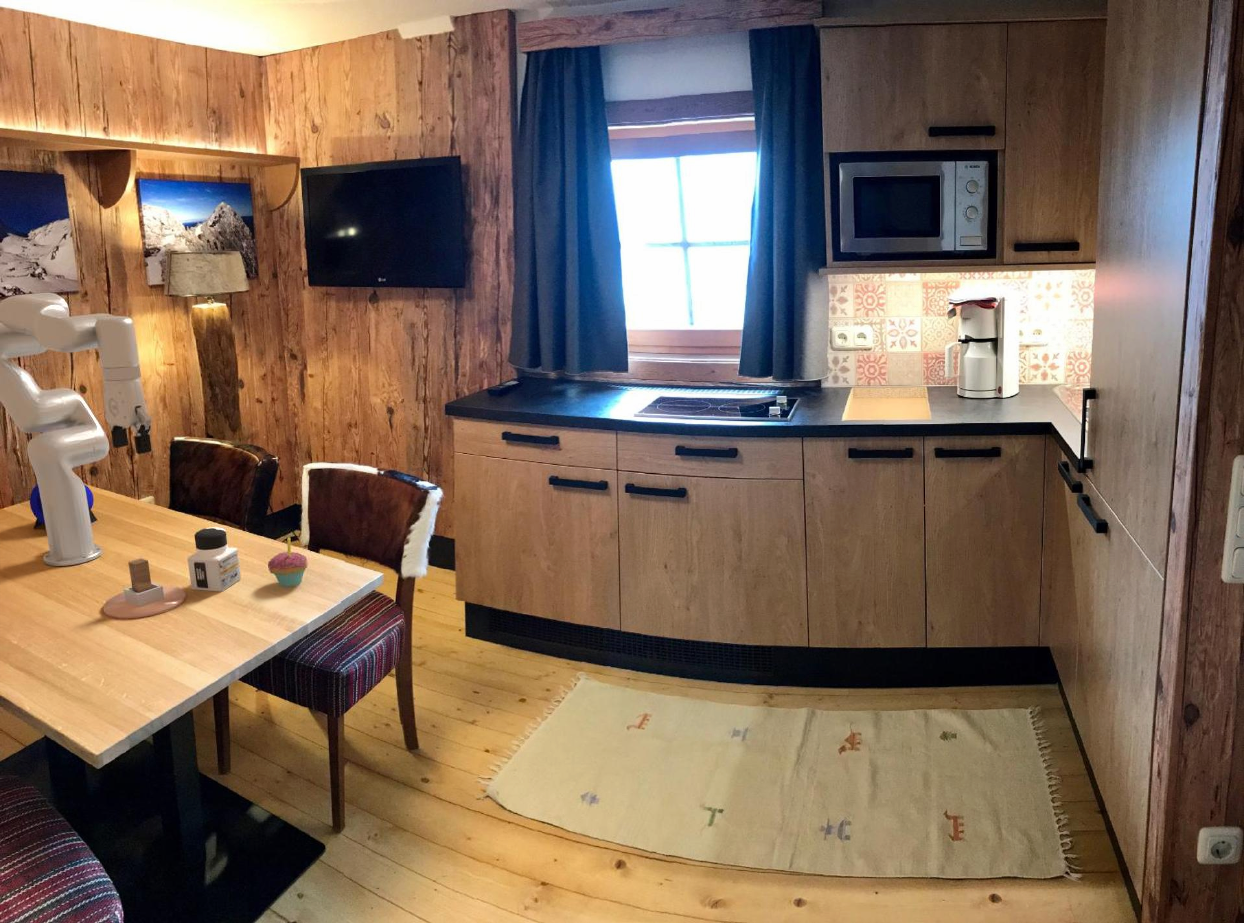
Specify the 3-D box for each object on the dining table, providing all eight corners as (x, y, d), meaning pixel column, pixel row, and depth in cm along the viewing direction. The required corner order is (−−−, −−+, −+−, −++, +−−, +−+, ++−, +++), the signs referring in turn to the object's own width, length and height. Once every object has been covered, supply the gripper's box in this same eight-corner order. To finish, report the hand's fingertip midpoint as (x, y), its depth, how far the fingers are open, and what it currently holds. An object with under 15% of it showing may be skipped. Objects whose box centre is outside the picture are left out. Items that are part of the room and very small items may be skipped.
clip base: (89, 606, 211) (86, 591, 210) (160, 583, 224) (158, 568, 223) (128, 624, 202) (126, 608, 201) (200, 599, 214) (198, 584, 213)
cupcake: (316, 582, 223) (311, 532, 220) (281, 593, 217) (276, 542, 214) (297, 573, 229) (292, 524, 226) (262, 583, 223) (257, 533, 220)
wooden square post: (134, 601, 212) (128, 561, 209) (146, 596, 214) (141, 557, 212) (141, 604, 210) (135, 564, 208) (153, 599, 212) (147, 560, 210)
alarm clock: (31, 530, 261) (21, 475, 257) (63, 516, 273) (54, 463, 269) (72, 532, 259) (63, 477, 255) (103, 517, 271) (95, 465, 267)
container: (222, 592, 218) (215, 536, 215) (190, 589, 220) (183, 534, 216) (241, 579, 226) (235, 525, 222) (211, 577, 227) (204, 523, 224)
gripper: (84, 372, 217) (96, 447, 222) (125, 380, 208) (136, 458, 212) (118, 367, 223) (128, 441, 228) (159, 375, 213) (169, 451, 218)
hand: (132, 449), depth 220 cm, fingers open, 9 cm apart
